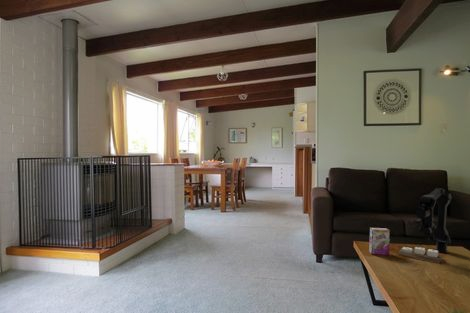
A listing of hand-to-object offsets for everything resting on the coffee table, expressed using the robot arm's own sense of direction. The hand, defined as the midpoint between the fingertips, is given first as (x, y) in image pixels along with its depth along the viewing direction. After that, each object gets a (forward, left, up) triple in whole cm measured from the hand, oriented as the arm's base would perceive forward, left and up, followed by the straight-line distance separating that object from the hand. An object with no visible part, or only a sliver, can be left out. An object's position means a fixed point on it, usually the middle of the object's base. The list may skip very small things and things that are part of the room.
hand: (427, 241), depth 189 cm
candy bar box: (+11, -25, -11) cm, 29 cm away
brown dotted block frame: (0, -4, -11) cm, 11 cm away
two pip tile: (0, -4, -8) cm, 9 cm away
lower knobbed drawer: (0, +3, -8) cm, 9 cm away
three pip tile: (0, -11, -10) cm, 15 cm away
